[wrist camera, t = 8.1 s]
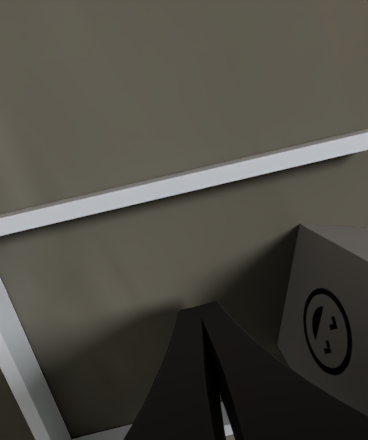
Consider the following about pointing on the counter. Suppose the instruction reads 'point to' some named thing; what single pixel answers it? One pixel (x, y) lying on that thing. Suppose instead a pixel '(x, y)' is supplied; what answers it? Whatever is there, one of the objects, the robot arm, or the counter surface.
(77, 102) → the counter surface
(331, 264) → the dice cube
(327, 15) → the counter surface
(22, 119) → the counter surface
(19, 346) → the metal frame
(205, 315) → the robot arm
